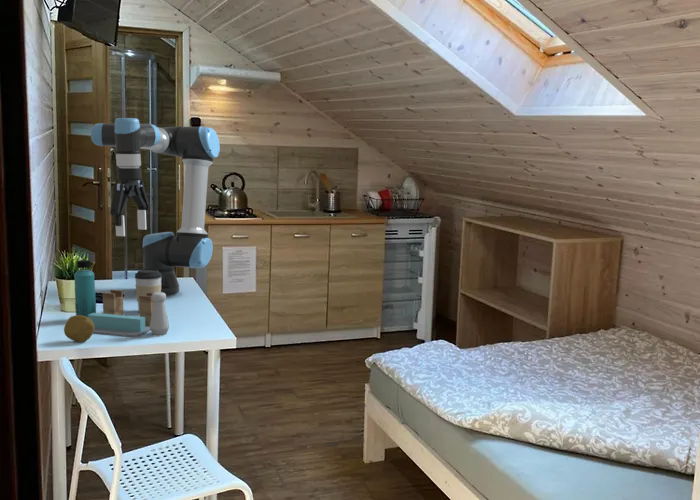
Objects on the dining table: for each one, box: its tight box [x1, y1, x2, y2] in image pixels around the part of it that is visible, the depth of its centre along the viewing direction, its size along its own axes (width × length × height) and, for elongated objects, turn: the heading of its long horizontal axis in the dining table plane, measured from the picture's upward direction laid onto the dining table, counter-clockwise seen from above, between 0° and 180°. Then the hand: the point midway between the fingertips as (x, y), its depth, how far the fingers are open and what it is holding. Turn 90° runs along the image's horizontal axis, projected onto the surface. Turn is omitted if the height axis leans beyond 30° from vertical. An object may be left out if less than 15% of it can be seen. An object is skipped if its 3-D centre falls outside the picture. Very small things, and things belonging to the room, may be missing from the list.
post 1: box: [102, 289, 125, 315], centre depth 230 cm, size 5×4×10 cm
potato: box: [63, 314, 94, 343], centre depth 208 cm, size 7×8×8 cm
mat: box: [92, 326, 151, 338], centre depth 221 cm, size 10×20×1 cm, turn 77°
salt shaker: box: [150, 292, 170, 337], centre depth 217 cm, size 6×6×13 cm
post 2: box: [139, 293, 154, 327], centre depth 227 cm, size 5×4×10 cm
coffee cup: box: [134, 268, 162, 314], centre depth 243 cm, size 9×9×15 cm
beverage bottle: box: [73, 259, 98, 317], centre depth 230 cm, size 6×7×20 cm
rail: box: [88, 312, 145, 332], centre depth 220 cm, size 3×18×4 cm, turn 77°
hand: (131, 232), depth 229 cm, fingers open, 13 cm apart
